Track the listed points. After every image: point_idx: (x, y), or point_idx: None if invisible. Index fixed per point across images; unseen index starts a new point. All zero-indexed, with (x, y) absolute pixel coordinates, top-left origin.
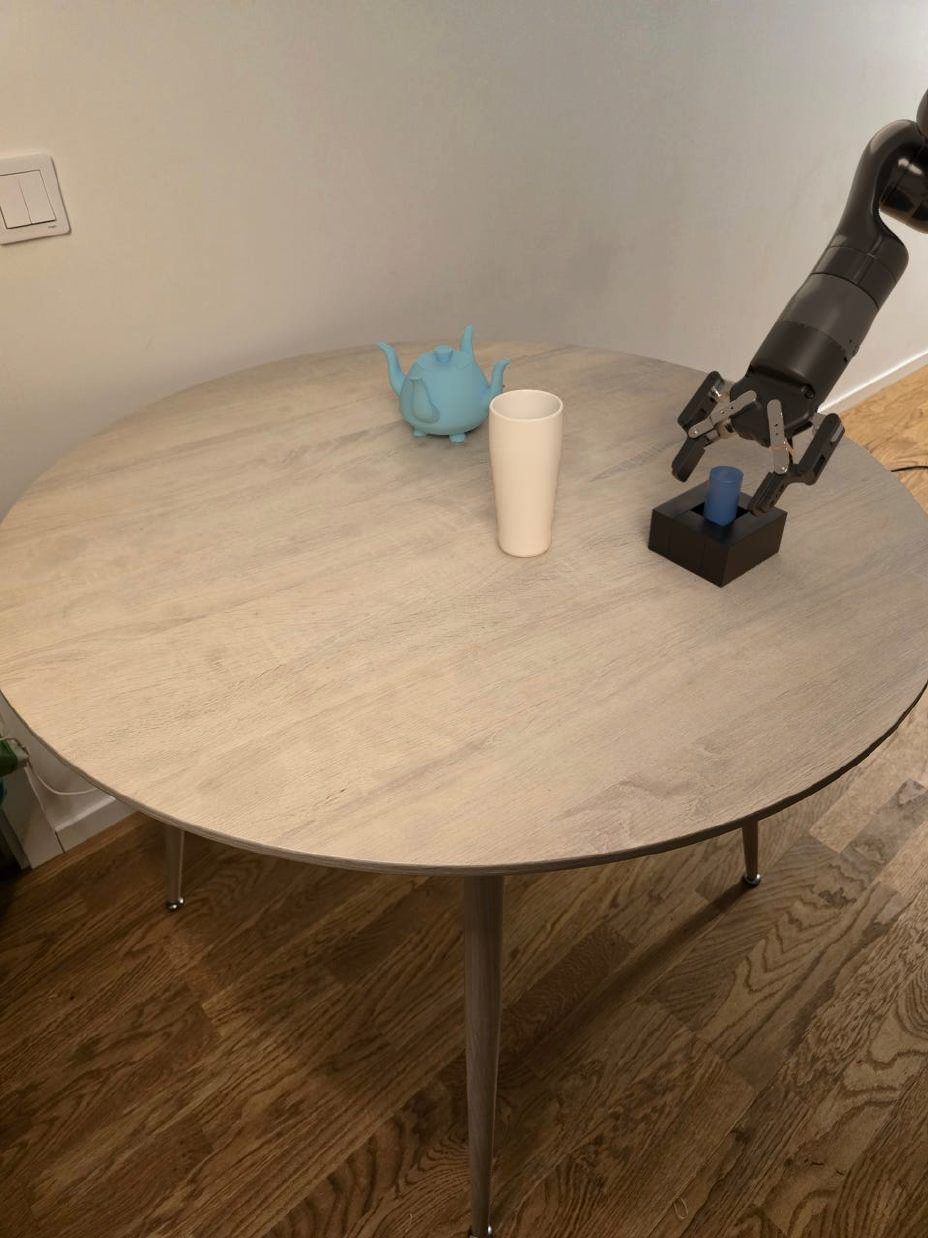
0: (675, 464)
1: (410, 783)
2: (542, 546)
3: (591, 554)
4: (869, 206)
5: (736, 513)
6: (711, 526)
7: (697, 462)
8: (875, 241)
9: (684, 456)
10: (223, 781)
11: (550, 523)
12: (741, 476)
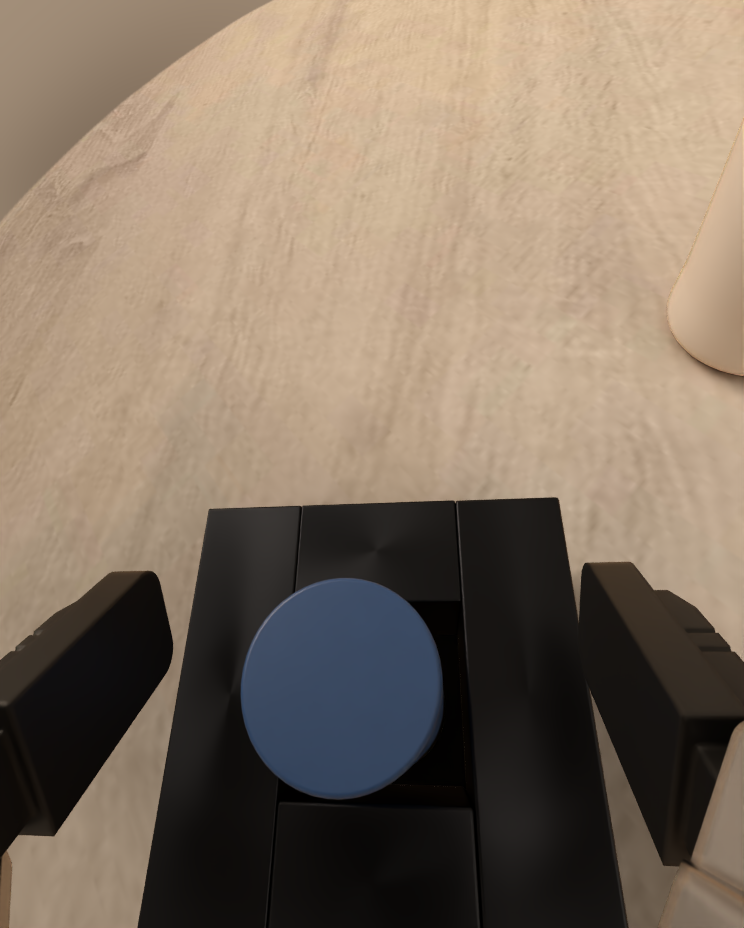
0: (644, 579)
1: (325, 28)
2: (674, 308)
3: (600, 421)
4: None
5: None
6: (323, 565)
7: (621, 758)
8: None
9: (643, 613)
10: None
11: (712, 286)
12: (250, 712)
